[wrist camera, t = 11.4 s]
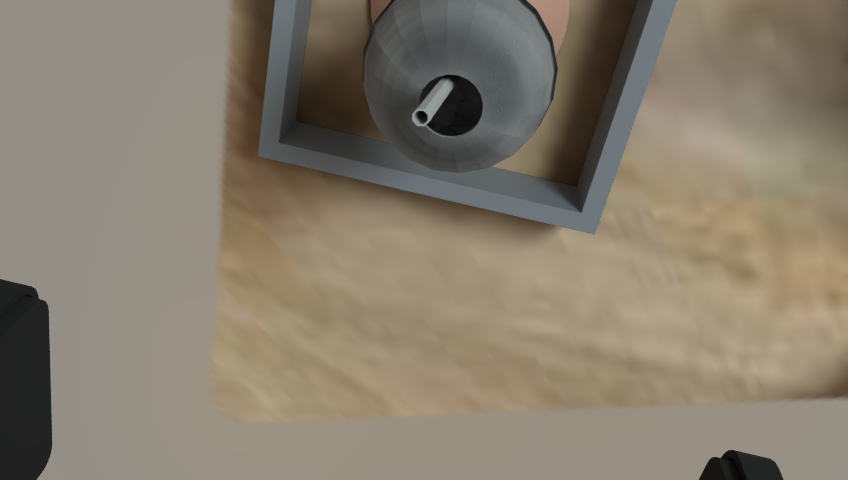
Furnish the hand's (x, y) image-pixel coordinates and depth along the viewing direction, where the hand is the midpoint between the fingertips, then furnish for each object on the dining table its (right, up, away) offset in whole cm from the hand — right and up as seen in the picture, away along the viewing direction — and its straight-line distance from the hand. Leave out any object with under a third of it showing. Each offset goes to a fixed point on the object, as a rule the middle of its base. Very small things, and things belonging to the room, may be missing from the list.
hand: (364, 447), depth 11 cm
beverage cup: (+3, +14, +28) cm, 32 cm away
